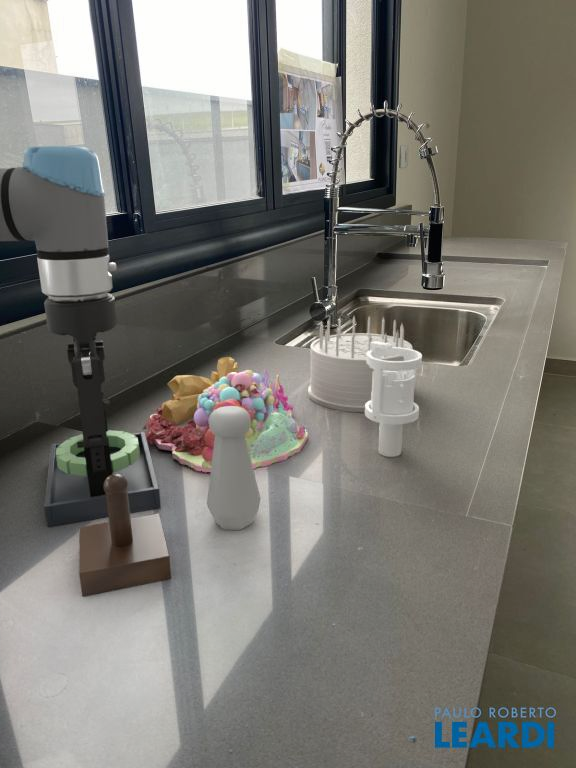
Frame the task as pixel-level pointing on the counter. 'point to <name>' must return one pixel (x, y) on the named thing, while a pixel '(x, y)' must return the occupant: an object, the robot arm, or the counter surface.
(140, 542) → the stand
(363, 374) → the cake
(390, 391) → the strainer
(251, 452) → the multicoloured round lumpy mound
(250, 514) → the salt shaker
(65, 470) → the ring
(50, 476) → the tray
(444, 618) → the counter surface
